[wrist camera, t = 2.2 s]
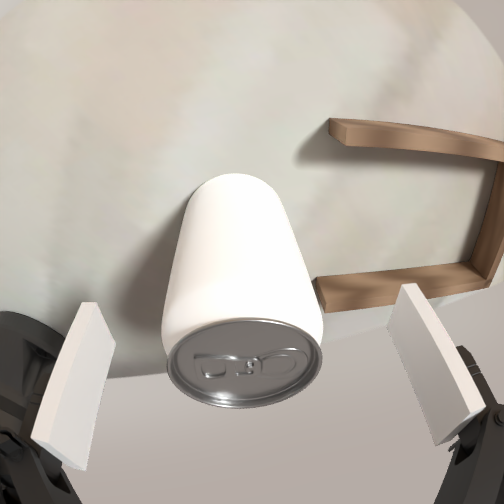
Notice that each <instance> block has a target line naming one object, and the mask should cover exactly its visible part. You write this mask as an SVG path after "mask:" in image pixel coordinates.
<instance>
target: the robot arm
mask: <svg viewBox="0 0 504 504" xmlns="http://www.w3.org/2000/svg"><path fill="white" fill-rule="evenodd" d="M387 330H388V332H389V334H390V336H391V338H392V340H393V343H394V345H395V347H396V349H397V351H398V354H399V356H400V358H401V361H402V363H403V365H404V367H405V370H406V372H407V374H408V377H409V379H410V382H411V384H412V386H413V388H414V391H415V394H416V396H417V398H418V401H419V404H420V406H421V409H422V411H423V414H424V416H425V419H426V422H427V424H428V427H429V430H430V433H431V435H432V438H433V441H434V444H435V446H438V445H440V444H443V443H445V442H448V441H450V440H452V439H453V438H454V437H455V436H456V435H457V434H458V435H459V438H460V439H459V440H458V441H456V443H454V444H453V445H452V446H450V448H449V450H448V451H449V452H450V451H451V450H453V449H454V448H455V450H454V452H453V456H452V459H451V462H450V465H449V467H448V470H447V473H446V475H445V478H444V480H443V483H442V485H441V488H440V490H439V493H438V495H437V497H436V499H435V502H434V504H504V405H502V404H498V403H497V402H496V400H495V398H494V396H493V394H492V392H491V390H490V388H489V386H488V384H487V382H486V380H485V378H484V376H483V375H482V373H481V371H480V369H479V367H478V366H477V365H476V362H475V360H474V358H473V356H472V355H471V353H470V352H469V351H467V349H466V348H464V347H463V346H458V347H455V346H454V344H453V342H452V340H451V339H450V337H449V335H448V333H447V332H446V330H445V329H444V327H443V325H442V323H441V322H440V320H439V319H438V317H437V315H436V314H435V312H434V310H433V309H432V307H431V306H430V304H429V302H428V301H427V299H426V298H425V296H424V295H423V293H422V292H421V290H420V289H419V287H418V285H417V284H416V283H411V284H402V285H401V288H400V291H399V294H398V297H397V300H396V303H395V306H394V309H393V312H392V314H391V317H390V320H389V323H388V325H387ZM115 346H116V343H115V341H114V339H113V337H112V335H111V333H110V331H109V328H108V326H107V324H106V322H105V320H104V318H103V315H102V313H101V311H100V309H99V306H98V304H97V302H82V304H81V306H80V308H79V310H78V312H77V314H76V316H75V319H74V321H73V323H72V325H71V328H70V330H69V332H68V334H67V337H66V339H65V338H64V337H62V336H61V335H60V334H58V333H57V332H55V331H54V330H52V329H51V328H49V327H47V326H46V325H44V324H42V323H40V322H38V321H36V320H34V319H32V318H29V317H27V316H24V315H21V314H18V313H13V312H0V504H82V503H81V501H80V499H79V497H78V496H77V494H76V492H75V491H74V489H73V487H72V485H71V483H70V481H69V479H68V478H67V476H66V474H65V472H64V470H63V469H62V468H61V466H62V462H63V463H64V464H66V465H67V466H69V467H71V468H76V469H79V470H83V471H86V468H87V462H88V457H89V452H90V447H91V442H92V437H93V432H94V428H95V423H96V419H97V414H98V410H99V406H100V402H101V397H102V393H103V390H104V386H105V382H106V378H107V374H108V371H109V367H110V363H111V360H112V356H113V353H114V350H115Z"/></svg>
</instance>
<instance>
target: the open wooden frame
mask: <svg viewBox="0 0 504 504" xmlns="http://www.w3.org/2000/svg"><path fill="white" fill-rule="evenodd" d="M329 134H330V135H331V136H333V137H334V138H335V139H337V140H338V141H340V142H341V143H342V144H344V145H345V146H361V147H381V148H396V149H409V150H420V151H430V152H439V153H448V154H456V155H463V156H470V157H477V158H483V159H490V160H495V161H499V162H498V167H497V171H496V176H495V180H494V184H493V188H492V192H491V196H490V200H489V204H488V207H487V211H486V214H485V217H484V221H483V224H482V227H481V230H480V233H479V236H478V239H477V242H476V245H475V248H474V251H473V253H472V256H471V259H470V261H468V262H460V263H451V264H443V265H434V266H425V267H416V268H407V269H397V270H387V271H377V272H367V273H357V274H346V275H334V276H323V277H317V278H316V286H315V287H316V290H317V293H318V296H319V298H320V301H321V304H322V307H323V310H324V313H332V312H340V311H349V310H357V309H364V308H372V307H379V306H386V305H393V304H395V303H396V300H397V297H398V294H399V291H400V288H401V285H402V284H411V283H416V284H417V285H418V287H419V289H420V290H421V292H422V293H423V295H424V296H425V298H426V299H431V298H436V297H442V296H448V295H453V294H458V293H464V292H469V291H474V290H479V289H484V288H488V287H489V286H490V284H491V282H492V279H493V277H494V275H495V273H496V270H497V268H498V266H499V263H500V261H501V258H502V256H503V253H504V142H502V141H498V140H494V139H489V138H485V137H480V136H476V135H471V134H466V133H460V132H455V131H449V130H443V129H437V128H430V127H424V126H416V125H409V124H400V123H391V122H381V121H369V120H356V119H338V118H329Z"/></svg>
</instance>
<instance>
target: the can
mask: <svg viewBox="0 0 504 504" xmlns="http://www.w3.org/2000/svg"><path fill="white" fill-rule="evenodd" d="M322 335H323V321H322V315H321V312H320V308H319V305H318V301H317V298H316V295H315V292H314V289H313V286H312V284H311V281H310V278H309V275H308V272H307V269H306V266H305V264H304V261H303V258H302V255H301V253H300V250H299V247H298V244H297V242H296V239H295V236H294V234H293V231H292V228H291V226H290V223H289V220H288V218H287V215H286V213H285V210H284V208H283V205H282V203H281V201H280V199H279V197H278V195H277V194H276V192H275V191H274V190H273V189H272V188H271V187H270V186H269V185H268V184H266V183H265V182H264V181H262V180H260V179H258V178H256V177H253V176H250V175H246V174H225V175H221V176H217V177H215V178H212V179H210V180H209V181H207V182H205V183H204V184H203V185H201V186H200V187H199V188H198V189H197V190H196V191H195V192H194V194H193V195H192V197H191V198H190V200H189V202H188V205H187V208H186V211H185V214H184V218H183V222H182V226H181V230H180V234H179V238H178V243H177V247H176V251H175V256H174V260H173V265H172V270H171V274H170V279H169V284H168V289H167V294H166V300H165V305H164V311H163V317H162V325H161V338H162V343H163V346H164V349H165V352H166V354H167V356H168V359H167V372H168V375H169V377H170V379H171V381H172V382H173V383H174V385H175V386H176V387H177V388H178V389H179V390H180V391H182V392H183V393H184V394H186V395H187V396H189V397H191V398H193V399H195V400H197V401H200V402H202V403H205V404H208V405H212V406H217V407H223V408H235V409H241V408H243V409H244V408H256V407H262V406H267V405H271V404H274V403H278V402H281V401H283V400H286V399H288V398H290V397H292V396H294V395H296V394H297V393H299V392H301V391H302V390H303V389H305V388H306V387H307V386H308V385H309V384H310V383H312V381H313V380H314V379H315V378H316V376H317V375H318V373H319V371H320V368H321V365H322V352H321V349H320V344H321V340H322Z"/></svg>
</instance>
